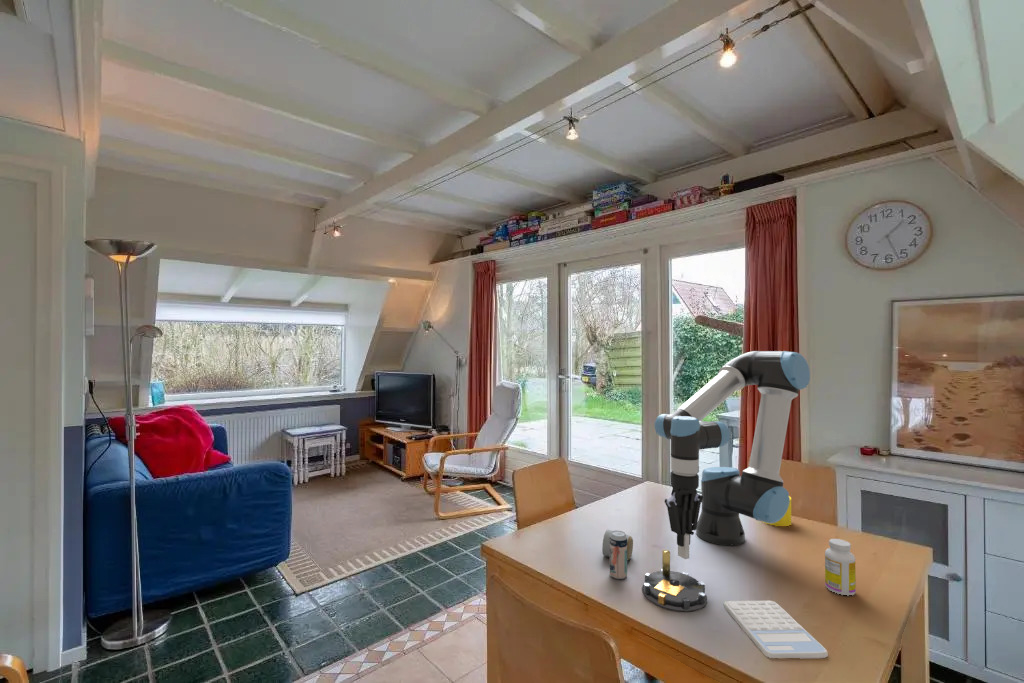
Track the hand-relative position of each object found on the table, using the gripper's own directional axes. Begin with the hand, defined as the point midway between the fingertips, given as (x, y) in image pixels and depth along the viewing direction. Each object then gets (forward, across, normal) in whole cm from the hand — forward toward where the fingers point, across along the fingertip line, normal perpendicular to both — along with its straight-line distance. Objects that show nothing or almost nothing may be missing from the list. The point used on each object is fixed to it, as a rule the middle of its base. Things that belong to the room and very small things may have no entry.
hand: (683, 556), depth 130 cm
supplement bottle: (+6, -32, +24) cm, 40 cm away
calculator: (+7, 0, +26) cm, 27 cm away
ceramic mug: (+6, +7, -19) cm, 21 cm away
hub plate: (+6, +9, +5) cm, 12 cm away
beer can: (+6, +16, -9) cm, 19 cm away
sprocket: (+6, +9, +5) cm, 12 cm away
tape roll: (+5, -63, -14) cm, 64 cm away
